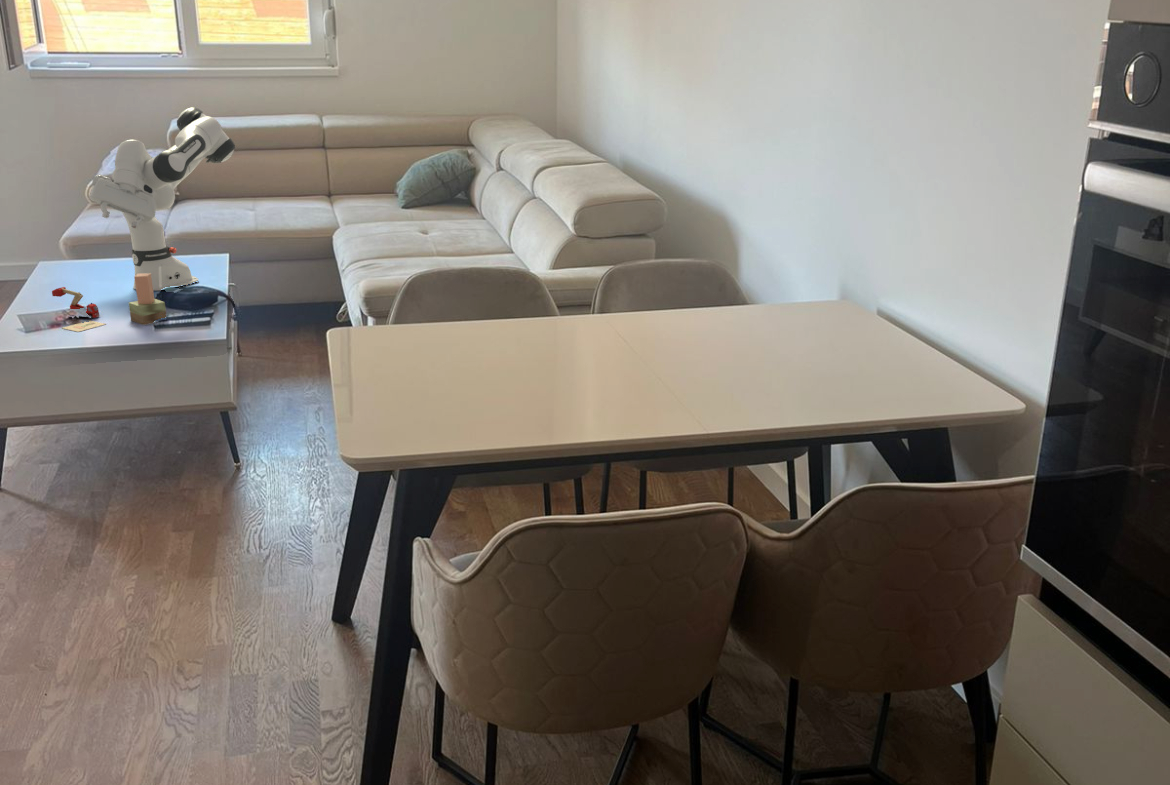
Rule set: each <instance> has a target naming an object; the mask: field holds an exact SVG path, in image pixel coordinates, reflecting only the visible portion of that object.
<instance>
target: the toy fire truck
mask: <svg viewBox="0 0 1170 785" xmlns="http://www.w3.org/2000/svg"><path fill="white" fill-rule="evenodd" d="M66 294H68V295H71V296H74V297H73V298H72V301H71V303H70V304H69V310H70V309H80V308H84V309H86V310H87V311H86V313H87V314H88V315H89V316H90V317H91V318H92V319H95V318H98V317H100V311H99V307H98V305H96V303H92V302H90V303H89V304H86V308H85V307H84V305H82V304H80V303H79V302H80V301H81V299H82V298H83V297H84V295H83V294H82V293H81V292H80V291H79V292H78V291H74V290H70V289H67V288H66V287H65V286H62V287H58V288H56V289H54V290H51V295H52V297H62V296H65V295H66Z"/></svg>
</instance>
